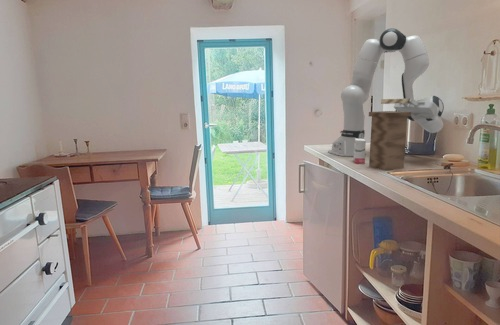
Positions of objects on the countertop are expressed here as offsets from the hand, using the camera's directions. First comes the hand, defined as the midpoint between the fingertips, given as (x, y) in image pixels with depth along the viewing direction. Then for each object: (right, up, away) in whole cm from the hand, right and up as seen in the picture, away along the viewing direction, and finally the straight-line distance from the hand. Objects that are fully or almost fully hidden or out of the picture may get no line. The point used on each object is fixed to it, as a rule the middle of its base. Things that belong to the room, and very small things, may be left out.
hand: (406, 99), depth 166 cm
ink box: (-18, -30, +14) cm, 38 cm away
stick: (-5, -2, -3) cm, 7 cm away
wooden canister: (-9, -32, 0) cm, 33 cm away
